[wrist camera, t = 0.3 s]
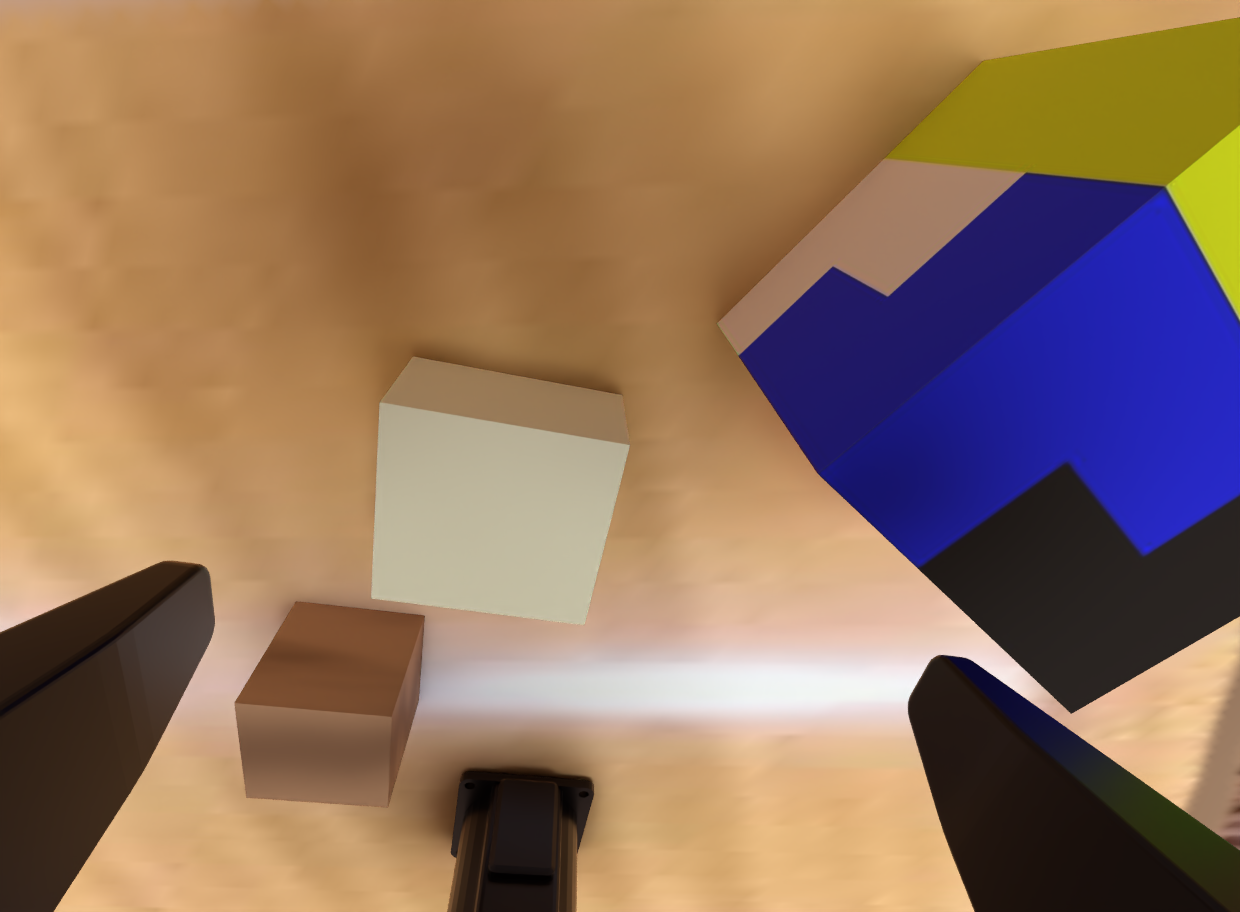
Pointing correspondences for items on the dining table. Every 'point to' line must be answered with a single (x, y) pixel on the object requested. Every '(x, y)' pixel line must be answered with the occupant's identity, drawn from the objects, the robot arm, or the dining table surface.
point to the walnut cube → (331, 706)
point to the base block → (494, 491)
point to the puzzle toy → (1038, 351)
